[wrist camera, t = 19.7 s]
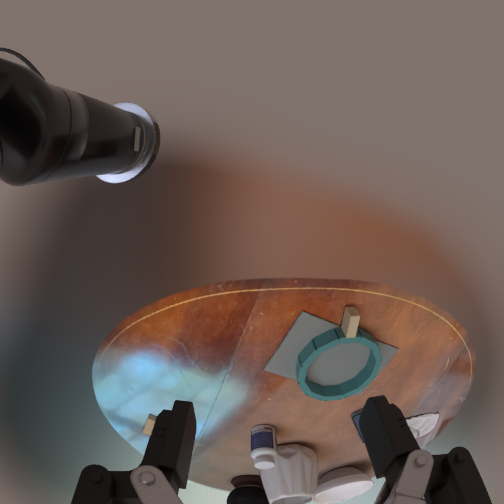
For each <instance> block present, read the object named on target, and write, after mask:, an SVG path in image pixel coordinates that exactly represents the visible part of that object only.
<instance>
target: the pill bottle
mask: <svg viewBox="0 0 504 504" xmlns="http://www.w3.org/2000/svg"><path fill="white" fill-rule="evenodd" d="M251 457H252V458H253V459H254V466H255V467H256V468H258V469H270V468H272V467H274V465H275V460H274V459H275V458H276V457H277V440H276V430H275V428H274V427H272V426H270V425H258V426H256V427H254V428H253V429H252V430H251Z"/></svg>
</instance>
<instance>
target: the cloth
mask: <svg viewBox="0 0 504 504" xmlns="http://www.w3.org/2000/svg"><path fill="white" fill-rule="evenodd" d="M438 417H439V413H436V414H434V413H428V414H423V415H419V416H416V417H411V418H408V419H406V421H407V423H408V426H409V427H410V429H411V431H412V433H413V435H414V437H415V439H416V438H418V437H421V436H423V435H425V434H427V433H429V432H430V431H431V430H432V429H433V428H434V427H435V425H436V422H437V421H438Z"/></svg>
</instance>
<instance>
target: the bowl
mask: <svg viewBox="0 0 504 504" xmlns="http://www.w3.org/2000/svg"><path fill="white" fill-rule="evenodd" d="M373 485H374V482H373V481H372V479H371V478H370V477H369V476H368V475H366V474H365V473H363V472H361V471H360V470H358V469H356V468H354V467H343V468H339V469H335V470H333V471H330V472H328V473H326V474H325V475H323V477H322V478H321V480H320V481H319V482H318V485H317V491H316V497H315V499H314V500H313V501H312V502H314V503H317V504H329V503H335V502H341V501H344V500H348V499H351V498H353V497H356V496H358V495H361V494H363V493H365V492H366V491H368V490H369V489H370V488H372V487H373Z"/></svg>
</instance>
